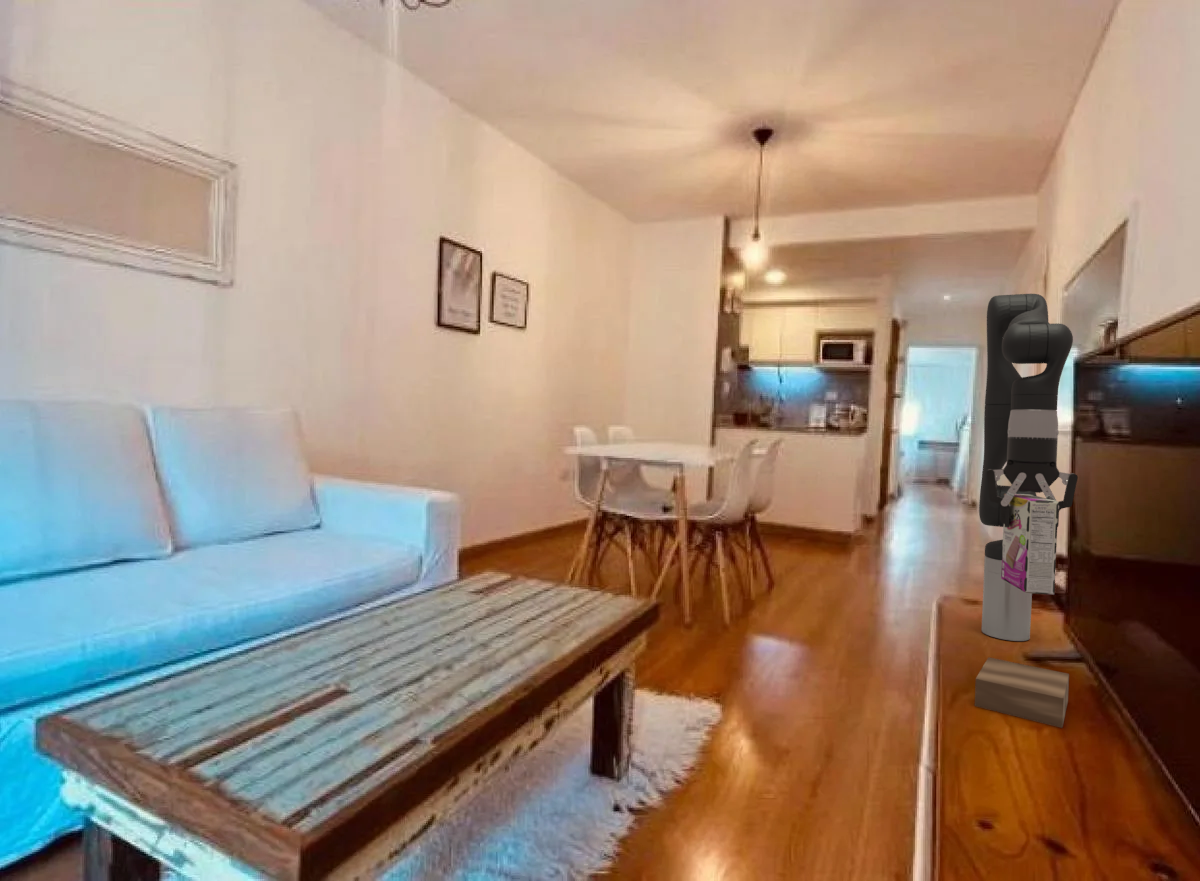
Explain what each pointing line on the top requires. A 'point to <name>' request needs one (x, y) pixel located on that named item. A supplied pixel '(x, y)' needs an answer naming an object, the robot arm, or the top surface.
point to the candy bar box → (1030, 544)
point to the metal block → (1023, 691)
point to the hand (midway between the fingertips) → (1028, 528)
